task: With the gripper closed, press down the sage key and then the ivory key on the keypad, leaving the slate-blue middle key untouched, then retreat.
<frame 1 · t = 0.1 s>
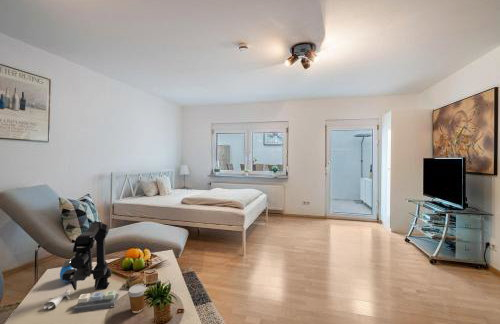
hand: (85, 288, 126), 15 cm above the table, fingers open, 9 cm apart
woman figurine: (58, 302, 139), on the table
key blue: (97, 296, 137), point 4 cm above the table, slide at 0.0 cm
keypad: (97, 303, 138), on the table
pastry: (138, 284, 158), on the table
disposable coffee cup: (137, 310, 133), on the table
key sage: (110, 294, 139), point 4 cm above the table, slide at 0.0 cm
key ivory: (84, 297, 136), point 4 cm above the table, slide at 0.0 cm
alarm clock: (71, 281, 160), on the table
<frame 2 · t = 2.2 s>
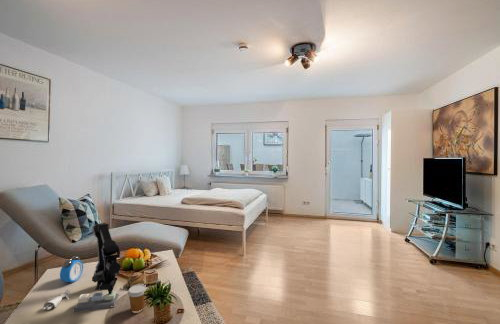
hand: (110, 293, 139), 5 cm above the table, fingers closed, pressing on key sage
key sage: (110, 295, 139), point 4 cm above the table, slide at -0.4 cm, touching gripper
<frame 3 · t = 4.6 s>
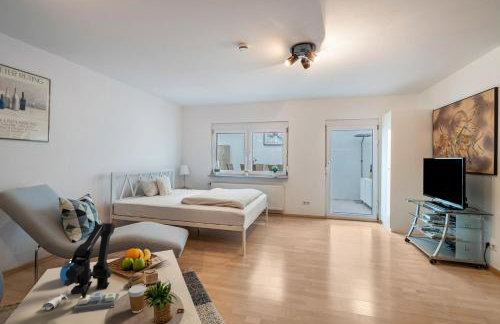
hand: (84, 297, 136), 4 cm above the table, fingers closed, pressing on key ivory
key sage: (110, 296, 139), point 3 cm above the table, slide at -1.3 cm
key ivory: (84, 299, 136), point 3 cm above the table, slide at -0.9 cm, touching gripper
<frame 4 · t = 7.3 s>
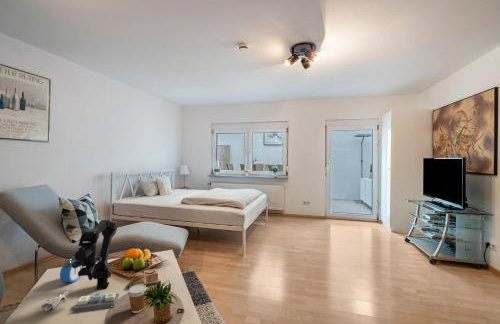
hand: (90, 280, 140), 12 cm above the table, fingers closed
key ivory: (84, 300, 136), point 3 cm above the table, slide at -1.3 cm
at the end: key sage slide at -1.3 cm; key ivory slide at -1.3 cm; key blue slide at 0.0 cm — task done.
